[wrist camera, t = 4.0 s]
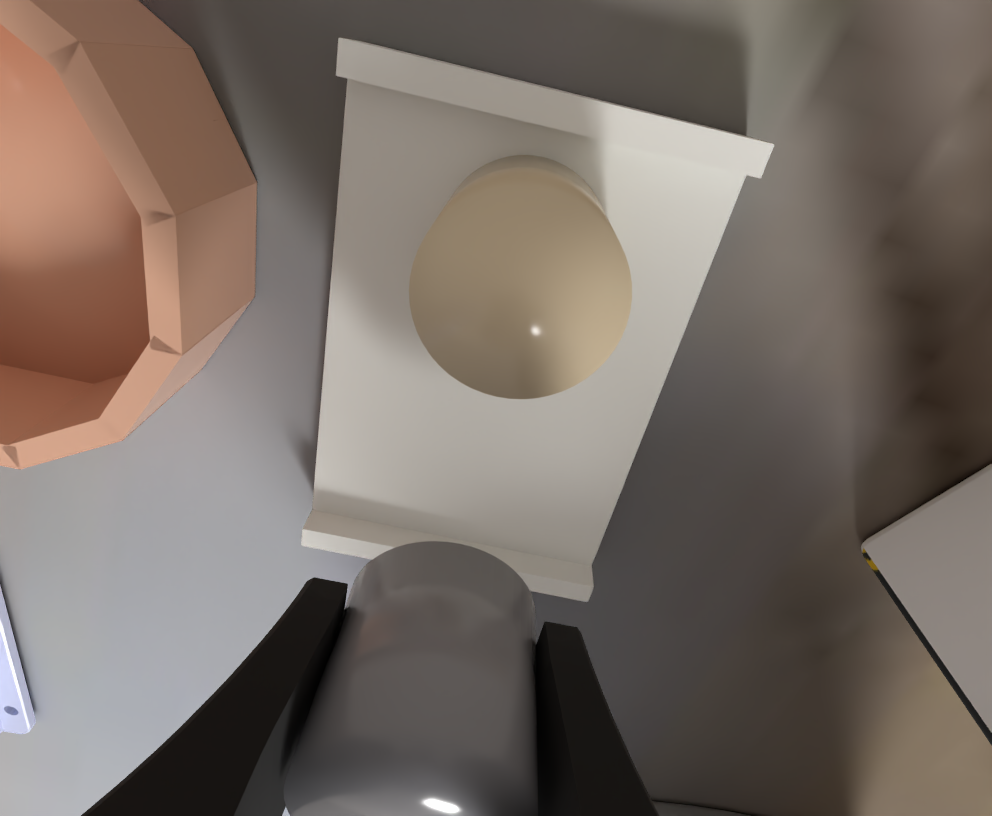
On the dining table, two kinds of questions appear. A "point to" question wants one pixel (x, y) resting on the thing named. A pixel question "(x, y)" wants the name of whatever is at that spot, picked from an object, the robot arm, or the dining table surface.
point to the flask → (689, 810)
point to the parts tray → (444, 400)
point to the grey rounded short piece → (425, 693)
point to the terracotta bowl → (110, 223)
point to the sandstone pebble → (521, 281)
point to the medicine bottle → (946, 584)
